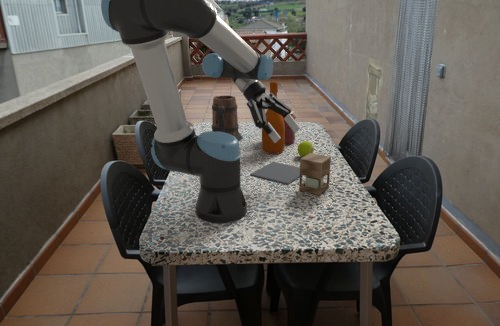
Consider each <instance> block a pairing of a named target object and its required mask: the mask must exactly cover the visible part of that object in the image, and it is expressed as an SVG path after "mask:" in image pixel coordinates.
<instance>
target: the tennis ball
mask: <svg viewBox="0 0 500 326" xmlns="http://www.w3.org/2000/svg"><path fill="white" fill-rule="evenodd" d="M314 150H315V147H314V145H313V143H312V142H311V141H308V140H305V141H304V140H303V141H302V142H300V143H299V144H298V146H297V153H298V154H299V156H300V157H301V158H303V157H304V156H306V155H308V154H309V153H314Z"/></svg>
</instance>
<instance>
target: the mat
mask: <svg viewBox="0 0 500 326" xmlns="http://www.w3.org/2000/svg"><path fill="white" fill-rule="evenodd" d="M250 176H252V177H256V178H260V179H264V180H268V181H272V182H277V183H281V184H284V185H287V186H289V185H291V183H293V182H294V181H296V180H298V179H300V166H295V165H289V164H285V163H280V162H277V161H276V162H275V161H271V162H270V163H268V164H266V165H264V166H262V167H260V168H259V169H257V170H255V171H253V172H251V173H250Z"/></svg>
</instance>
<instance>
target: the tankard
mask: <svg viewBox="0 0 500 326" xmlns="http://www.w3.org/2000/svg"><path fill="white" fill-rule="evenodd" d="M211 110H212V111H211V112H212V113H211V114H212V117H211V118H212V119H211V121H212V124H211V131H213V132H216V131H218V132H224V133H228V134H231V135H233V136H234V137H235V138H236V139H237V140H238V142H240V141H242V140H243V139H244V137H243V136H242V134H241V133H240V132H239V128H240V126H239V120H238V104H237V101H236V97H235V96H232V95H218V96H217V95H216V96H213V100H212V105H211Z"/></svg>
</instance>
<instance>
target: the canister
mask: <svg viewBox="0 0 500 326" xmlns="http://www.w3.org/2000/svg"><path fill="white" fill-rule="evenodd" d="M294 114H295V111H294V110H292V112H291V113H290V115H291V116H292V117H293V119H294V120H295V121H296V118H297V117H296V115H294ZM282 117H283V116H282ZM284 118H285V117H283V120H284ZM284 124H285V141H284V146H287V145H288V146H289V145H292V144H295V142H296V133H294V131H293V130H292V129H291V127H290V126H289V125H288V124H287V122H286V121H285V120H284Z"/></svg>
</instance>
